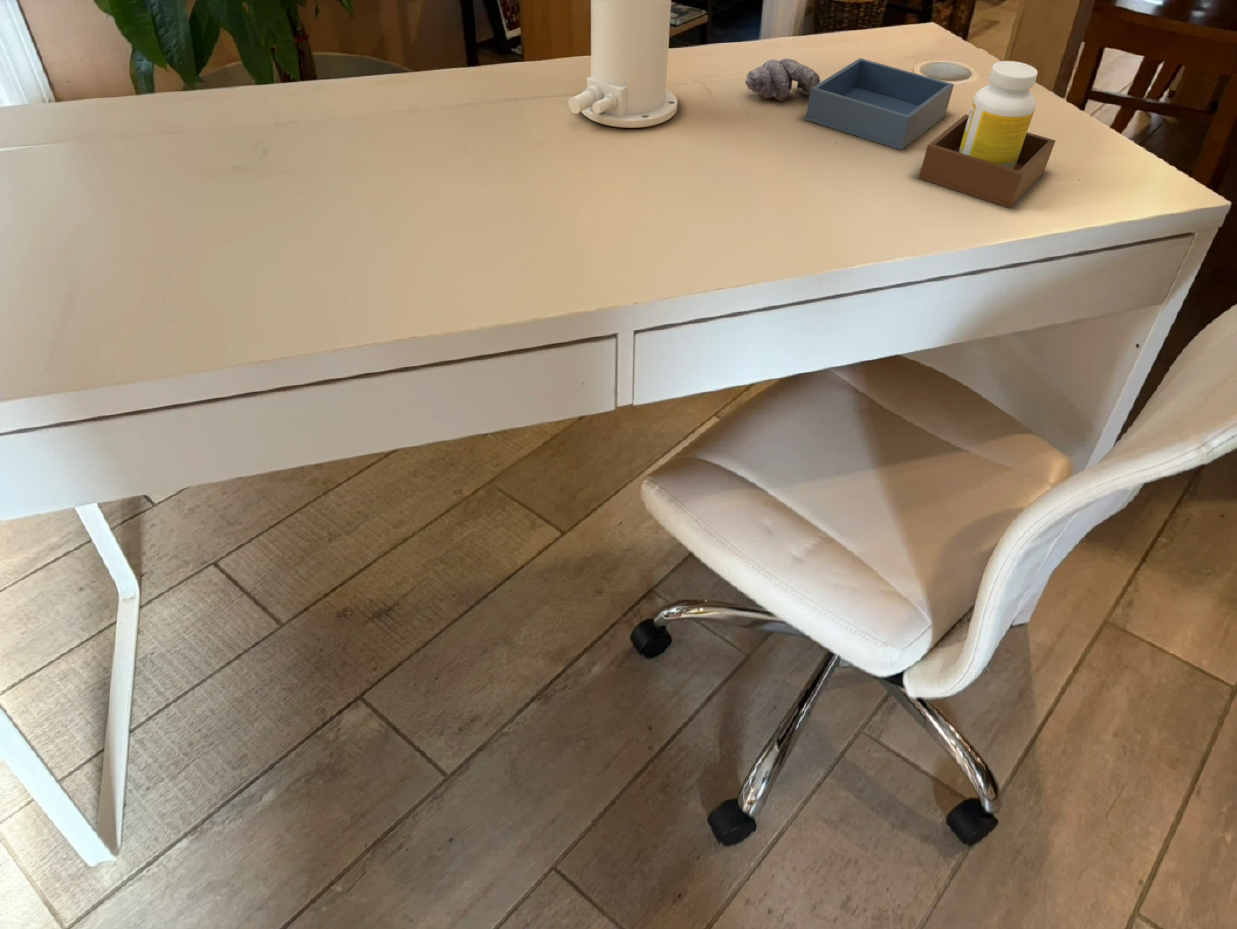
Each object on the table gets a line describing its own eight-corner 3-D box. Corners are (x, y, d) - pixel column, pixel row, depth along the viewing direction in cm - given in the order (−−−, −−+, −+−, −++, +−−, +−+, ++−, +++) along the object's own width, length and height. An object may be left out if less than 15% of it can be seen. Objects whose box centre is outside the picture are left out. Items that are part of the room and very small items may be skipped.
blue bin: (901, 150, 109) (909, 117, 106) (805, 119, 115) (810, 87, 112) (945, 115, 117) (954, 83, 114) (853, 88, 122) (859, 57, 119)
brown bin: (1009, 208, 99) (1022, 174, 96) (918, 178, 104) (927, 144, 101) (1043, 173, 105) (1055, 140, 103) (955, 146, 110) (965, 113, 107)
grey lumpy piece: (812, 101, 122) (741, 109, 120) (807, 60, 121) (736, 67, 119) (828, 89, 116) (755, 97, 115) (823, 46, 116) (749, 54, 114)
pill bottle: (1018, 185, 102) (1055, 81, 94) (961, 184, 102) (993, 79, 94) (1002, 159, 107) (1036, 58, 99) (947, 157, 107) (977, 56, 99)
